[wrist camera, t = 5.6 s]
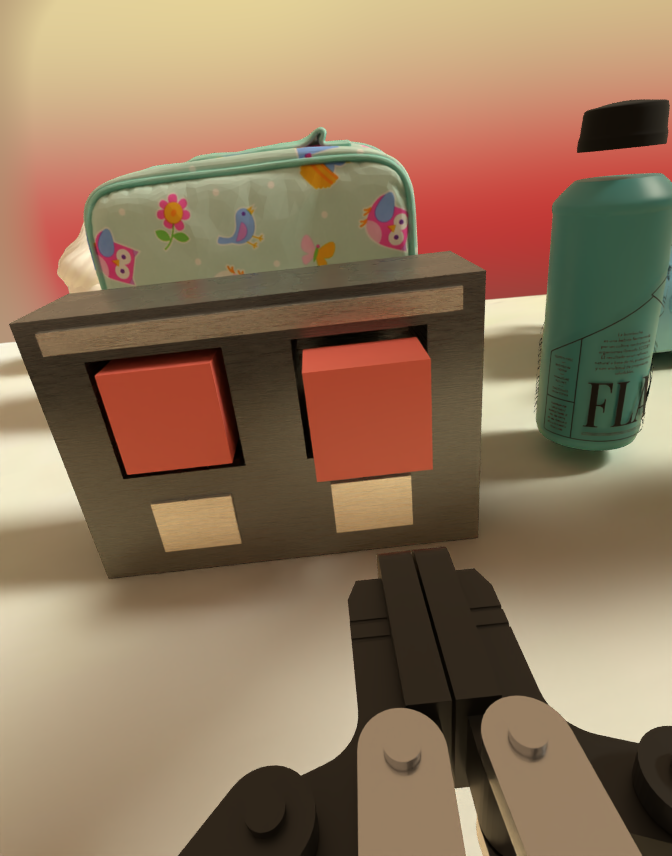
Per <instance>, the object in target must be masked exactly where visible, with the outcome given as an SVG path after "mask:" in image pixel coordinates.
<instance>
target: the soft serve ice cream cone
mask: <svg viewBox="0 0 672 856" xmlns="http://www.w3.org/2000/svg"><path fill="white" fill-rule="evenodd" d="M58 265H59V268H58V272H57V273H58V275H59V277H60V278H61V279H62V280H63V281H64V283H65V284H66V285H67V286H68V289H69V293H79V292H88V291H97V290H101V286H100V283H99V280H98V277H97V274H96V271H95V268H94V264H93V261H92V257H91V253H90V250H89V246H88V243H87V237H86V232H85V226H84V223H83V226H82V228H81V232H80V234H79V236H78V238H77V239H76V240H75V241H74V242H73V243H71V244H70V246H69V247H67V248H66V249H65V251H64V254H63V255H62V257H61V258H60V260H59V263H58Z"/></svg>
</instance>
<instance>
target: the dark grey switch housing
mask: <svg viewBox="0 0 672 856" xmlns="http://www.w3.org/2000/svg"><path fill="white" fill-rule="evenodd" d="M485 281H486V270H484V269H482V268H480V267H478V266H477V265H475V264H473V263H471V262H469V261H467V260H466V259H464V258H462V257H460V256H458V255H457V254H455V253H453V252H451V251H446V252H437V253H428V254H419V255H410V256H401V257H392V258H383V259H374V260H365V261H357V262H348V263H339V264H330V265H321V266H312V267H303V268H294V269H285V270H276V271H267V272H258V273H249V274H240V275H231V276H222V277H213V278H204V279H196V280H187V281H178V282H169V283H160V284H151V285H142V286H133V287H124V288H115V289H106V290H97V291H88V292H79V293H70V294H67V295H65V296H64V297H61V298H59V299H57V300H55V301H54V302H51V303H49V304H48V305H46V306H43V307H42V308H39V309H38V310H36V311H34V312H32V313H30V314H28V315H26V316H24V317H22V318H20V319H18V320H16V321H14V322H12V323H10V324H9V325H10V328H11V330H12V333H13V335H14V338H15V341H16V343H17V346H18V348H19V351H20V353H21V356H22V358H23V361H24V364H25V366H26V369H27V371H28V374H29V376H30V379H31V381H32V384H33V386H34V389H35V392H36V394H37V397H38V399H39V402H40V404H41V407H42V409H43V412H44V415H45V417H46V420H47V422H48V425H49V427H50V430H51V432H52V435H53V438H54V440H55V443H56V445H57V448H58V450H59V453H60V455H61V458H62V460H63V463H64V466H65V468H66V471H67V473H68V476H69V478H70V481H71V483H72V486H73V489H74V491H75V494H76V496H77V499H78V501H79V504H80V506H81V509H82V511H83V514H84V517H85V519H86V522H87V524H88V527H89V529H90V532H91V534H92V537H93V540H94V542H95V545H96V547H97V550H98V552H99V555H100V557H101V560H102V563H103V565H104V568H105V570H106V573H107V575H108V578H118V577H127V576H136V575H145V574H154V573H163V572H172V571H181V570H190V569H199V568H208V567H217V566H226V565H235V564H244V563H253V562H262V561H271V560H280V559H289V558H297V557H306V556H315V555H324V554H333V553H342V552H351V551H360V550H369V549H378V548H387V547H396V546H405V545H414V544H423V543H432V542H441V541H450V540H459V539H468V538H477V537H478V517H479V483H480V450H481V417H482V384H483V351H484V317H485V284H486V283H485ZM409 337H417V339H418V340H419V342H420V343H421V345H422V346H423V348H424V349H425V351H426V352H427V354H428V355H429V357H430V358H431V396H432V452H433V469H431V470H422V471H413V472H404V473H395V474H386V475H377V476H368V477H359V478H351V479H342V480H333V481H324V482H317V478H316V470H315V463H314V456H313V449H312V441H311V434H310V427H309V419H308V412H307V405H306V398H305V390H304V383H303V376H302V360H303V349H311V348H319V347H328V346H337V345H346V344H355V343H364V342H373V341H382V340H391V339H400V338H409ZM219 347H221V349H222V354H223V358H224V363H225V368H226V373H227V378H228V383H229V387H230V392H231V397H232V402H233V407H234V411H235V416H236V421H237V426H238V431H239V439H238V443H237V447H236V451H235V454H234V458H233V462H232V463H229V464H220V465H211V466H202V467H193V468H184V469H175V470H166V471H157V472H148V473H139V474H131V475H127V473H126V470H125V467H124V464H123V461H122V458H121V454H120V451H119V448H118V445H117V442H116V439H115V436H114V433H113V430H112V427H111V424H110V421H109V418H108V415H107V412H106V409H105V406H104V403H103V400H102V397H101V394H100V391H99V388H98V385H97V382H96V379H95V375H96V374H97V373H98V372H99V371H101V370H102V369H103V368H104V367H105V366H106V365H107V364H108V363H109V362H110V361H111V360H112V359H121V358H130V357H139V356H148V355H157V354H166V353H175V352H183V351H192V350H201V349H210V348H219Z"/></svg>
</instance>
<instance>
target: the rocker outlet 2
mask: <svg viewBox="0 0 672 856" xmlns="http://www.w3.org/2000/svg"><path fill="white" fill-rule="evenodd" d="M302 376H303V383H304V390H305V398H306V405H307V412H308V419H309V427H310V434H311V441H312V449H313V456H314V463H315V470H316V478H317V482H324V481H333V480H342V479H351V478H359V477H368V476H377V475H386V474H395V473H404V472H413V471H422V470H431V469H433V452H432V396H431V358H430V357H429V355H428V354H427V352H426V351H425V349H424V348H423V346H422V345H421V343H420V342H419V340H418V339H417V337H409V338H400V339H391V340H382V341H373V342H364V343H355V344H346V345H337V346H328V347H319V348H311V349H303V360H302Z"/></svg>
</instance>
